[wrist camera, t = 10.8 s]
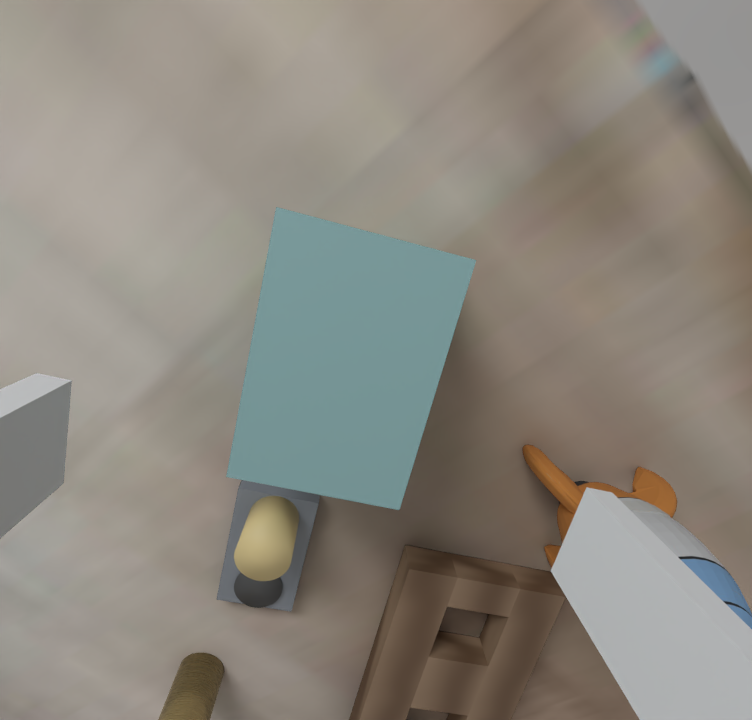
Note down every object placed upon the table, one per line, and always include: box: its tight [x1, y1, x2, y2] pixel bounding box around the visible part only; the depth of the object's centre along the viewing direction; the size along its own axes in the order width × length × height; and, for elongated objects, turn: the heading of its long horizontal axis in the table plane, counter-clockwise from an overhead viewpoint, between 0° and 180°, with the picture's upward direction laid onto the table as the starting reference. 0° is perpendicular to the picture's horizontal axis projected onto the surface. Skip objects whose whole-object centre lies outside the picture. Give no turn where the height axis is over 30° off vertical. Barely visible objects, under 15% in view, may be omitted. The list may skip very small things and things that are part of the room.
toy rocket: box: [523, 445, 752, 629], centre depth 27 cm, size 10×11×15 cm
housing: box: [226, 207, 476, 510], centre depth 24 cm, size 9×13×9 cm
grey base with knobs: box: [217, 480, 320, 611], centre depth 30 cm, size 6×10×5 cm, turn 166°
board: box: [349, 545, 566, 720], centre depth 35 cm, size 12×20×2 cm, turn 166°
